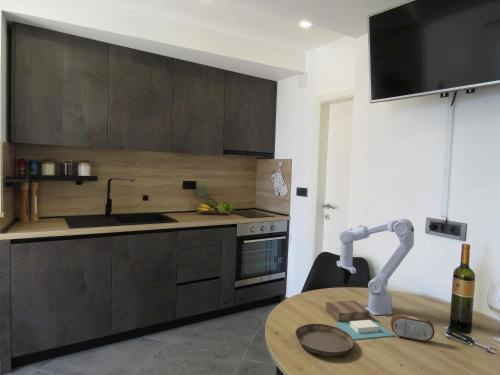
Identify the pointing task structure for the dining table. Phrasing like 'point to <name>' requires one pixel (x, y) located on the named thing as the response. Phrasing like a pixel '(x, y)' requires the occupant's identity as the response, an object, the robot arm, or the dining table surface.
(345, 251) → the robot arm
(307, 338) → the plant saucer
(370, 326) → the tile
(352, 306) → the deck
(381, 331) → the mat
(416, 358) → the dining table surface
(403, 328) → the tin
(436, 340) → the dining table surface
